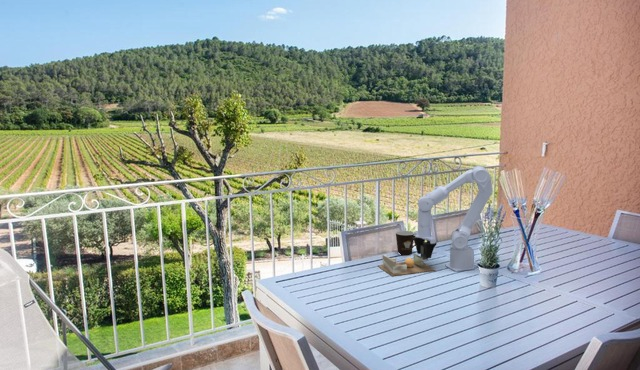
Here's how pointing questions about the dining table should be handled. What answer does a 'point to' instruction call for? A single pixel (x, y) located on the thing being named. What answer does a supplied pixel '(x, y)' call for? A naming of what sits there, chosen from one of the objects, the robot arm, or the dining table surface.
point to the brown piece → (402, 267)
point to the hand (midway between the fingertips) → (424, 255)
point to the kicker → (418, 259)
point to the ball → (409, 262)
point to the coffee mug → (405, 242)
